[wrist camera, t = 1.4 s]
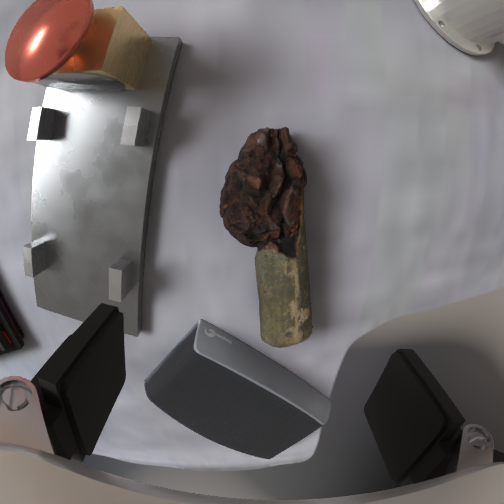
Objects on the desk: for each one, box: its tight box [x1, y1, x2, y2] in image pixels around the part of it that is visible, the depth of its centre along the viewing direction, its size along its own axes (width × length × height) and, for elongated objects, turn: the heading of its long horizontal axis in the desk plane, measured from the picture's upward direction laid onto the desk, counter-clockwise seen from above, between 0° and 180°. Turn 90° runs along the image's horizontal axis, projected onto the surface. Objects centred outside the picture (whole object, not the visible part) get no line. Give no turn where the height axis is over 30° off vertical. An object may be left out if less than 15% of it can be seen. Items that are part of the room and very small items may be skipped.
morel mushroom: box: [220, 127, 313, 348], centre depth 23 cm, size 18×7×6 cm, turn 6°
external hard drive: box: [144, 319, 332, 459], centre depth 30 cm, size 13×19×4 cm
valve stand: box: [5, 0, 182, 337], centre depth 19 cm, size 13×29×11 cm, turn 169°
